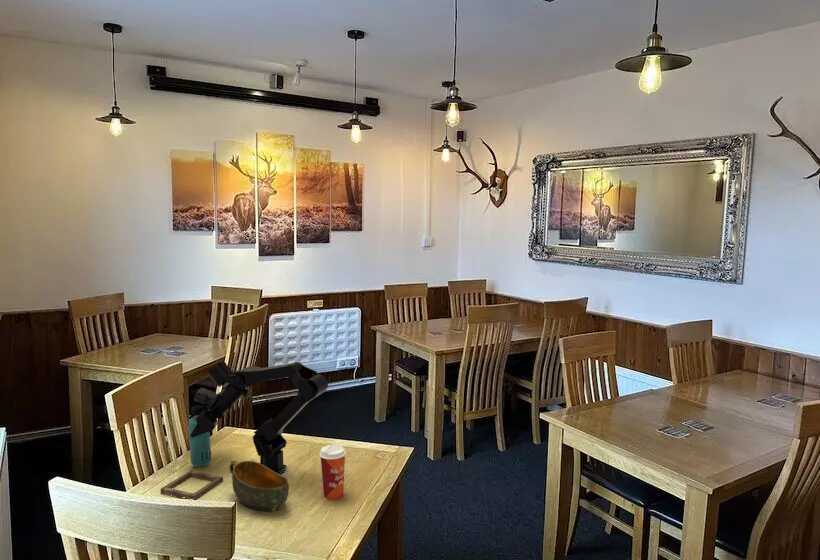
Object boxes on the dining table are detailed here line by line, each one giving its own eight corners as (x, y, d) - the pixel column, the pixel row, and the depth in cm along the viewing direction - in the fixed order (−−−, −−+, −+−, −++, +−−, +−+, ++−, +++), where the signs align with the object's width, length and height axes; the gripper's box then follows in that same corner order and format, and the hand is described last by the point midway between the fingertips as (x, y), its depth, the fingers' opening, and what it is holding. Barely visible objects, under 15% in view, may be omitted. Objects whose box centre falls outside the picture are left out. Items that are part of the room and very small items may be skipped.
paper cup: (335, 504, 156) (334, 457, 154) (314, 496, 160) (313, 450, 158) (352, 492, 163) (351, 447, 161) (332, 485, 167) (331, 441, 165)
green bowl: (270, 481, 170) (269, 450, 168) (293, 511, 153) (292, 477, 151) (228, 492, 163) (226, 460, 161) (246, 526, 146) (244, 490, 145)
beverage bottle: (201, 472, 176) (198, 411, 173) (185, 468, 178) (182, 408, 176) (216, 463, 182) (213, 405, 179) (201, 460, 184) (197, 402, 182)
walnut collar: (223, 481, 170) (223, 476, 170) (194, 501, 158) (194, 496, 158) (191, 474, 174) (190, 470, 174) (160, 493, 163) (160, 488, 162)
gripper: (217, 372, 187) (186, 404, 188) (201, 389, 169) (166, 425, 169) (242, 394, 189) (211, 426, 189) (228, 413, 170) (193, 449, 171)
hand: (195, 431), depth 179 cm, fingers open, 9 cm apart
